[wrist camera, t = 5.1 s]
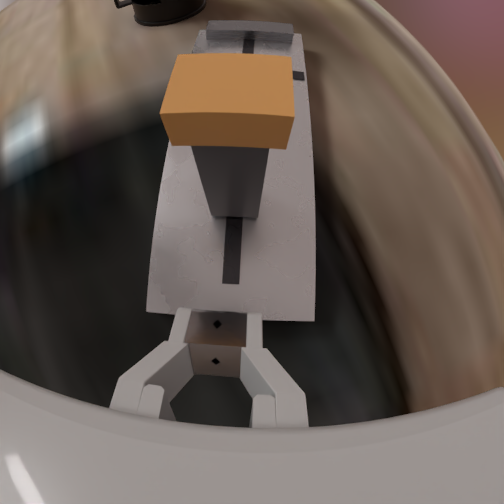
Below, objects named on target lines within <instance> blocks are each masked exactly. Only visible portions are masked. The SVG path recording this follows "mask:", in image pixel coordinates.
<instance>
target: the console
mask: <svg viewBox="0 0 504 504" xmlns="http://www.w3.org/2000/svg"><path fill="white" fill-rule="evenodd" d="M200 53H245V54H264V55H277V56H287V57H291V59H292V74H293V91H294V110H295V118H294V122H293V126H292V129H291V133H290V137H289V141H288V144H287V148H286V150H283V149H270V148H269V154H268V160H267V166H266V172H265V178H264V184H263V190H262V196H261V202H260V208H259V214H258V218H251V217H231V216H211V213H210V210H209V206H208V203H207V200H206V196H205V193H204V190H203V186H202V183H201V180H200V176H199V173H198V169H197V166H196V162H195V159H194V155H193V152H192V148H191V146H172V145H171V142H170V140H169V144H168V149H167V154H166V159H165V164H164V169H163V175H162V180H161V186H160V192H159V198H158V205H157V211H156V218H155V226H154V233H153V241H152V250H151V259H150V269H149V280H148V292H147V306H146V312H154V313H164V314H175V315H176V311H177V309H178V308H179V307H181V308H189V309H202V310H213V311H231V312H254V313H261V314H262V320H278V321H314V318H315V277H316V233H315V191H314V168H313V149H312V134H311V120H310V108H309V97H308V87H307V77H306V68H305V59H304V51H303V44H302V36H301V34H296V33H294V31H293V24H287V23H277V22H264V21H243V20H213V21H208V25H207V28H206V30H199V33H198V36H197V39H196V42H195V45H194V48H193V51H192V54H200Z"/></svg>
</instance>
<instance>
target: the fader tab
mask: <svg viewBox="0 0 504 504" xmlns="http://www.w3.org/2000/svg"><path fill="white" fill-rule="evenodd" d="M160 116H161V119H162V121H163V124H164V127H165V129H166V132H167V135H168V137H169V140H170V142H171V145H172V146H191V148H192V152H193V155H194V159H195V162H196V166H197V169H198V173H199V176H200V180H201V183H202V186H203V190H204V193H205V196H206V200H207V203H208V206H209V210H210V213H211V216H231V217H251V218H258V214H259V208H260V202H261V196H262V190H263V184H264V178H265V172H266V166H267V160H268V154H269V148H270V149H283V150H286V148H287V144H288V141H289V137H290V133H291V129H292V126H293V122H294V118H295V110H294V91H293V74H292V59H291V57H287V56H277V55H264V54H245V53H200V54H181V55H178V56H177V59H176V62H175V65H174V68H173V71H172V74H171V77H170V80H169V83H168V87H167V90H166V93H165V97H164V100H163V103H162V107H161V110H160Z"/></svg>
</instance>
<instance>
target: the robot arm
mask: <svg viewBox="0 0 504 504" xmlns="http://www.w3.org/2000/svg"><path fill="white" fill-rule="evenodd" d="M193 374H201V375H217V376H228V377H240V379H241V381H242V383H243V384H244V386H245V388H246V389H247V391H248V393H249V394H250V396H251V397H252V399H253V403H252V410H251V417H250V424H249V428H245V427H226V426H213V425H202V424H193V423H185V422H178V421H176V418H175V416H174V414H173V411H172V409H171V406H170V403H169V402H170V401H171V400H172V399H173V398H174V397H175V396H176V395H177V393H178V392H179V391H180V390H181V389H182V388H183V387H184V386H185V384H186V383H187V382H188V381H189V380H190V379H191V378H192V377H193ZM0 504H504V387H497V388H494V389H492V390H489V391H486V392H484V393H481V394H478V395H475V396H472V397H469V398H466V399H463V400H460V401H457V402H453V403H450V404H446V405H443V406H439V407H435V408H432V409H428V410H424V411H419V412H415V413H411V414H406V415H401V416H396V417H391V418H385V419H379V420H373V421H366V422H359V423H351V424H342V425H331V426H318V427H309V426H308V416H307V406H306V397H305V393H304V392H303V391H302V390H301V388H300V387H299V386H298V385H297V384H296V383H295V381H294V380H293V379H292V378H291V377H290V376H289V374H288V373H287V372H286V371H285V370H284V368H283V367H282V366H281V365H280V364H279V362H278V361H277V360H276V359H275V358H274V356H273V355H272V354H271V353H270V352H269V350H268V349H267V348H263V333H262V314H261V313H254V312H231V311H213V310H202V309H189V308H181V307H179V308H178V309H177V311H176V315H175V318H174V322H173V326H172V329H171V333H170V336H169V340H168V341H164V342H162V343H161V344H160V345H159V346H157V347H156V348H155V349H154V350H152V351H151V352H150V353H149V354H148V355H146V356H145V357H144V358H143V359H141V360H140V361H139V362H138V363H136V364H135V365H134V366H133V367H132V368H130V369H129V370H128V371H127V372H125V373H124V374H123V375H122V376H120V377H119V379H118V382H117V385H116V388H115V391H114V394H113V397H112V400H111V404H110V407H109V408H106V407H102V406H99V405H95V404H91V403H88V402H84V401H81V400H78V399H74V398H71V397H68V396H65V395H62V394H59V393H56V392H53V391H51V390H48V389H45V388H43V387H40V386H37V385H35V384H32V383H30V382H27V381H25V380H23V379H20V378H18V377H16V376H13V375H11V374H9V373H7V372H5V371H3V370H0Z"/></svg>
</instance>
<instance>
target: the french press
mask: <svg viewBox="0 0 504 504" xmlns="http://www.w3.org/2000/svg"><path fill="white" fill-rule="evenodd" d="M158 1H161V3H159V4H154V3H156V2H158ZM114 2H115V5H116V7H117V8H118V9H119V8H122V7H125V6H128V5H131V4H132V5H133V9H134V12H135V15H134V18H135V21H136V22H137V23H138V24H140V25H144V26H160V25H167V24H172V23H176V22H179V21H182V20H185V19H188V18H190V17H192V16H194V15H196V14H198V13H199V12H200V11H202V10H203V9H204V7H205V5H206V0H124V1H121V2H120V1H119V0H114Z"/></svg>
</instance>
